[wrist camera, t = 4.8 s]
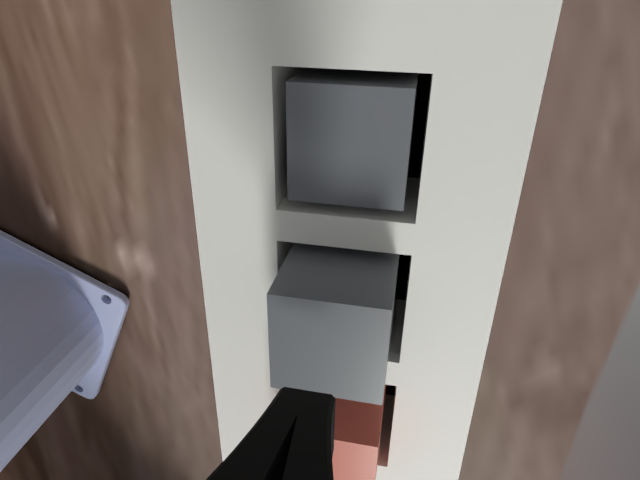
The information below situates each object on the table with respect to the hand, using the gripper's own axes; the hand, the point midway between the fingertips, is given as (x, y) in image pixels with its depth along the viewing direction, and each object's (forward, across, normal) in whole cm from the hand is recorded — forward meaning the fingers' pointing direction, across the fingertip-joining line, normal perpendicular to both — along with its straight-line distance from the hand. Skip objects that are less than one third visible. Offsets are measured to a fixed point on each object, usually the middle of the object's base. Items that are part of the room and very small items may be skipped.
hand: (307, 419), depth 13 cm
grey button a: (+9, 0, -6) cm, 11 cm away
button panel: (+9, 0, 0) cm, 9 cm away
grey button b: (+7, 0, 0) cm, 7 cm away
